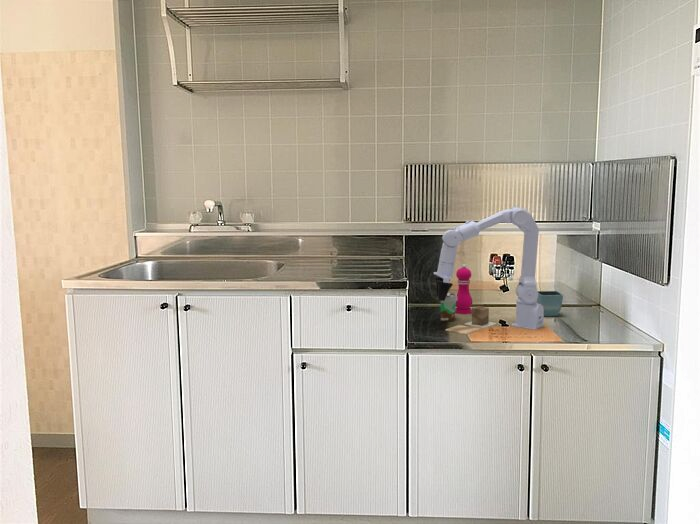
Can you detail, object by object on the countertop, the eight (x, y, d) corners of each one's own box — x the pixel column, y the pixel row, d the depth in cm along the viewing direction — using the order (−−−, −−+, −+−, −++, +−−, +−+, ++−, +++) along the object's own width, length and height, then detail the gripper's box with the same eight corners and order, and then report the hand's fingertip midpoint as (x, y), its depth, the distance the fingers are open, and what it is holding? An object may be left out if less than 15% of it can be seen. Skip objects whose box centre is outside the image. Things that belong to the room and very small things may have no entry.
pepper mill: (451, 311, 260) (452, 263, 257) (468, 310, 262) (469, 262, 259) (457, 315, 253) (458, 265, 250) (475, 314, 255) (475, 265, 252)
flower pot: (534, 312, 256) (535, 290, 255) (556, 312, 256) (557, 290, 255) (540, 317, 248) (540, 295, 246) (562, 317, 247) (563, 295, 246)
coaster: (480, 330, 230) (480, 328, 230) (466, 335, 224) (466, 333, 224) (458, 326, 236) (458, 324, 236) (445, 331, 230) (445, 329, 230)
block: (488, 323, 239) (488, 307, 238) (482, 325, 235) (482, 309, 235) (478, 321, 242) (478, 306, 241) (471, 323, 238) (471, 308, 238)
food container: (456, 323, 240) (457, 297, 239) (440, 323, 241) (440, 297, 240) (458, 316, 252) (458, 291, 250) (442, 315, 253) (442, 291, 252)
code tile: (496, 323, 239) (496, 323, 239) (484, 328, 232) (484, 327, 232) (476, 320, 245) (476, 319, 245) (463, 324, 238) (463, 324, 238)
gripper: (434, 257, 241) (428, 292, 243) (438, 263, 226) (431, 300, 228) (452, 260, 241) (446, 295, 243) (457, 266, 226) (450, 303, 228)
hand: (440, 298), depth 236 cm, fingers open, 7 cm apart
